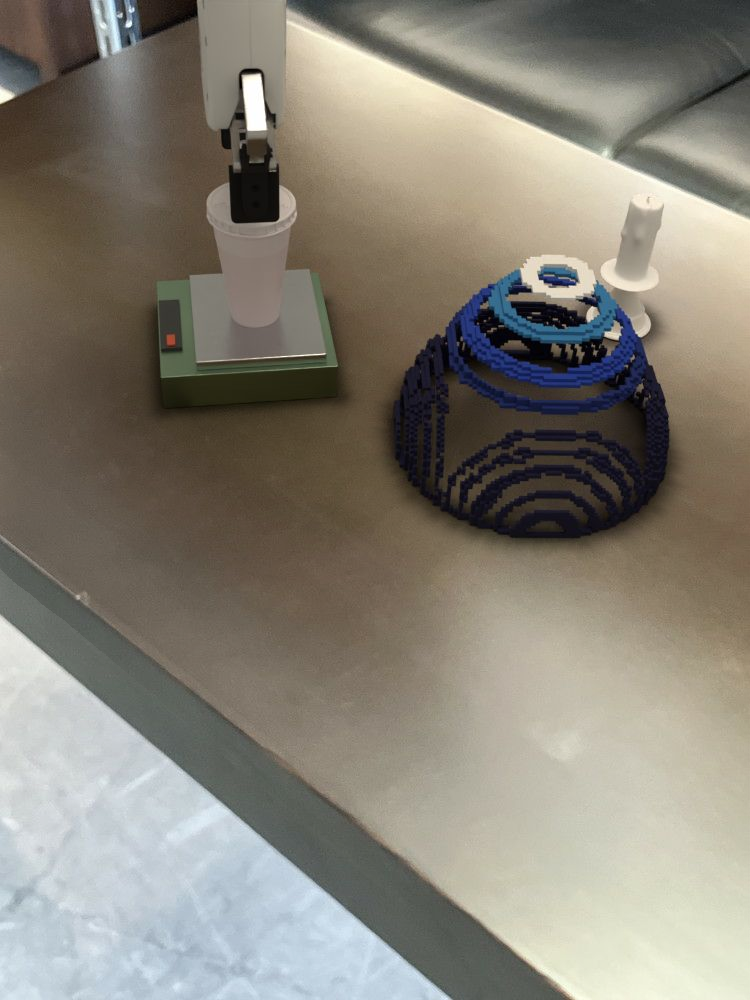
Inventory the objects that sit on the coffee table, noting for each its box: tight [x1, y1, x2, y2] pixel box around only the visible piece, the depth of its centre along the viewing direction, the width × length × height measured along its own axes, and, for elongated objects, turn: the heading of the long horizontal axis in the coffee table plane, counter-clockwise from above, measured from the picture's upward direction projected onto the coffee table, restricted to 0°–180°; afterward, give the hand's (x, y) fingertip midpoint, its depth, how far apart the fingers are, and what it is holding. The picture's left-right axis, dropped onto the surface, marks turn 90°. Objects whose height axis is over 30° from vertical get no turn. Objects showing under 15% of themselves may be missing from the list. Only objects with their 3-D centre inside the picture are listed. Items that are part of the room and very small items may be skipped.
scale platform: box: [188, 268, 327, 370], centre depth 88 cm, size 10×11×1 cm
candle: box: [585, 193, 665, 341], centre depth 91 cm, size 5×5×12 cm
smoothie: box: [206, 140, 298, 328], centre depth 83 cm, size 6×6×14 cm
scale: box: [156, 272, 339, 409], centre depth 89 cm, size 13×12×3 cm
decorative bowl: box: [392, 254, 671, 538], centre depth 80 cm, size 20×20×14 cm
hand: (249, 182), depth 80 cm, fingers open, 9 cm apart
